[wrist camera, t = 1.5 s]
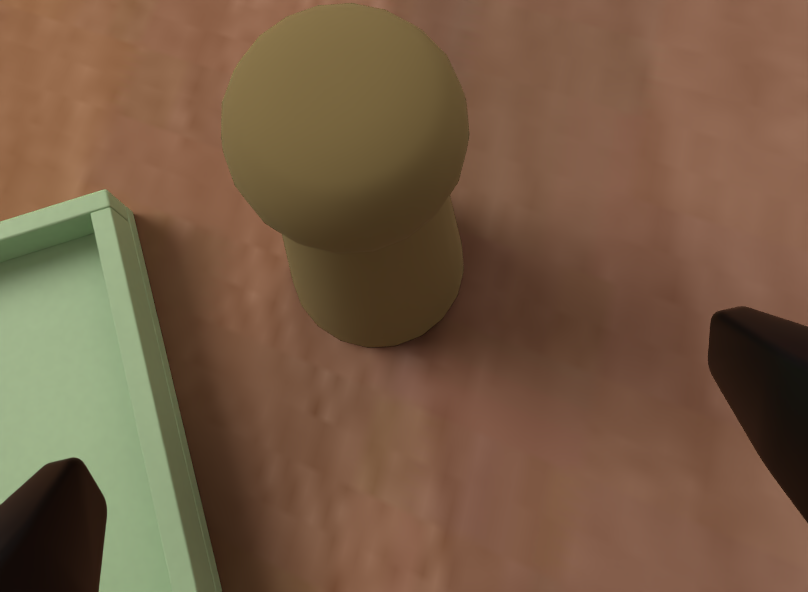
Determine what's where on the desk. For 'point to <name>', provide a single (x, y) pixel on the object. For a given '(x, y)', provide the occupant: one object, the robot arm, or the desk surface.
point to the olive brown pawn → (354, 166)
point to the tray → (98, 389)
